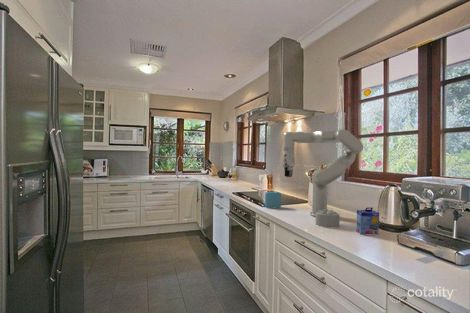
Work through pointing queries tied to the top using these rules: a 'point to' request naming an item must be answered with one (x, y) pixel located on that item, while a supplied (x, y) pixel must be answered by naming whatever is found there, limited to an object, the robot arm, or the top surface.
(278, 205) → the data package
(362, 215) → the ink cartridge box
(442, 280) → the top surface
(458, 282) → the top surface
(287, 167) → the connector casing
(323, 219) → the lumpy-topped squat cylinder
